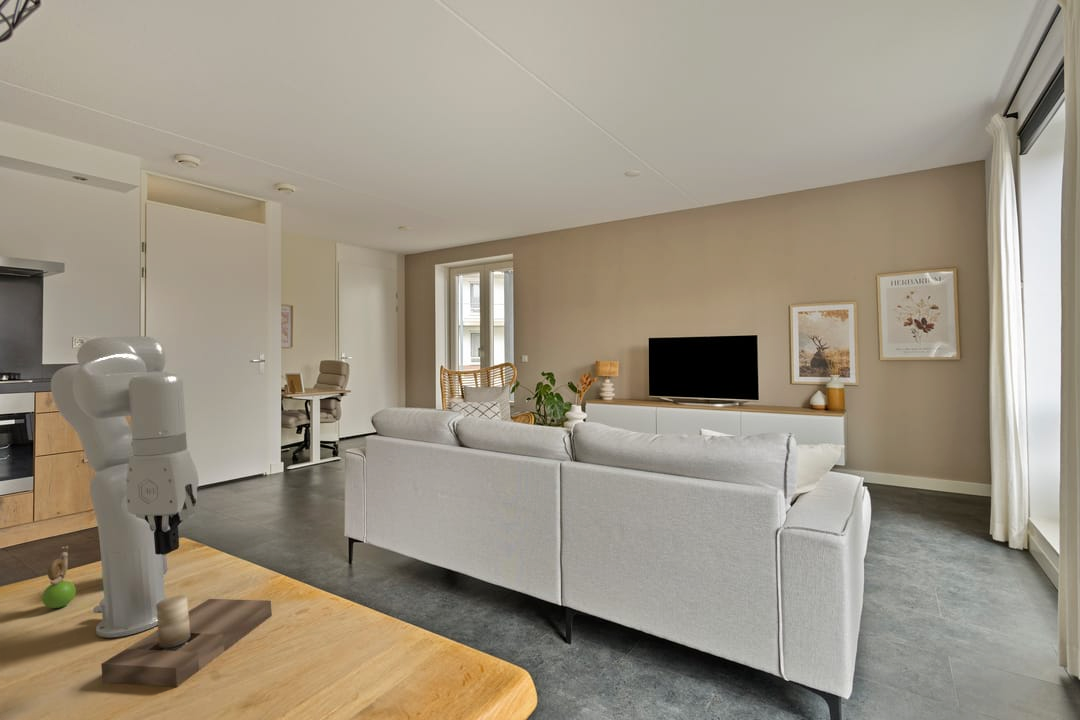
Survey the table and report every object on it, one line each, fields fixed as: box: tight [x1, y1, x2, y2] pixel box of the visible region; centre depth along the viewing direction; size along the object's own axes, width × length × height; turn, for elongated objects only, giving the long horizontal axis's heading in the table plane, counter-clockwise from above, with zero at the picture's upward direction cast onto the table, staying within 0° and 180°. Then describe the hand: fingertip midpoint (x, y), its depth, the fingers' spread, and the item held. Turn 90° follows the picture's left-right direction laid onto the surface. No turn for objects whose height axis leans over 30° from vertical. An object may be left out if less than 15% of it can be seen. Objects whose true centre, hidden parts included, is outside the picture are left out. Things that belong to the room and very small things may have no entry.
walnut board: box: [100, 598, 273, 688], centre depth 95 cm, size 14×22×3 cm, turn 170°
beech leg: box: [156, 595, 191, 651], centre depth 91 cm, size 4×4×10 cm
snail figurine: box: [41, 545, 77, 609], centre depth 115 cm, size 5×6×12 cm
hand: (167, 551), depth 91 cm, fingers closed
